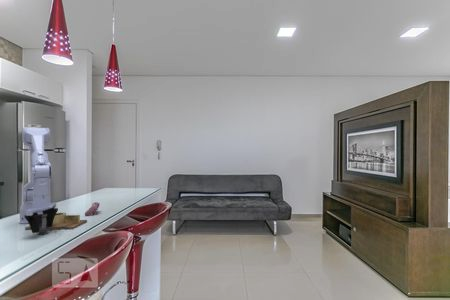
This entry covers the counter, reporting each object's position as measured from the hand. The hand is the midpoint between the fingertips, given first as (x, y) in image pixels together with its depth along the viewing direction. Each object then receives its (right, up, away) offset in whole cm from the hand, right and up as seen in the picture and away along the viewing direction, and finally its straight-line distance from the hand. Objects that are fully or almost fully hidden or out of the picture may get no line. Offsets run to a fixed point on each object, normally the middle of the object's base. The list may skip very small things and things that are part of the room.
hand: (42, 229), depth 104 cm
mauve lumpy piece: (+3, -2, +33) cm, 33 cm away
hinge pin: (0, -2, 0) cm, 2 cm away
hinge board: (-1, -2, +11) cm, 11 cm away
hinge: (-1, -2, +11) cm, 11 cm away
